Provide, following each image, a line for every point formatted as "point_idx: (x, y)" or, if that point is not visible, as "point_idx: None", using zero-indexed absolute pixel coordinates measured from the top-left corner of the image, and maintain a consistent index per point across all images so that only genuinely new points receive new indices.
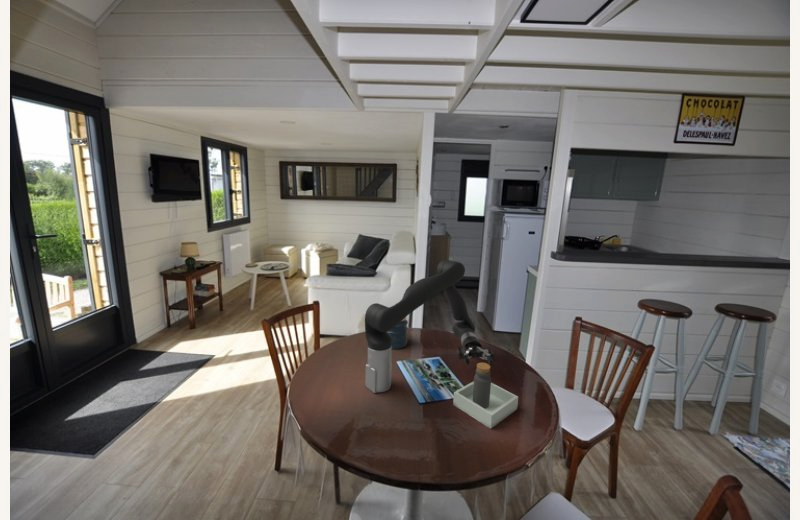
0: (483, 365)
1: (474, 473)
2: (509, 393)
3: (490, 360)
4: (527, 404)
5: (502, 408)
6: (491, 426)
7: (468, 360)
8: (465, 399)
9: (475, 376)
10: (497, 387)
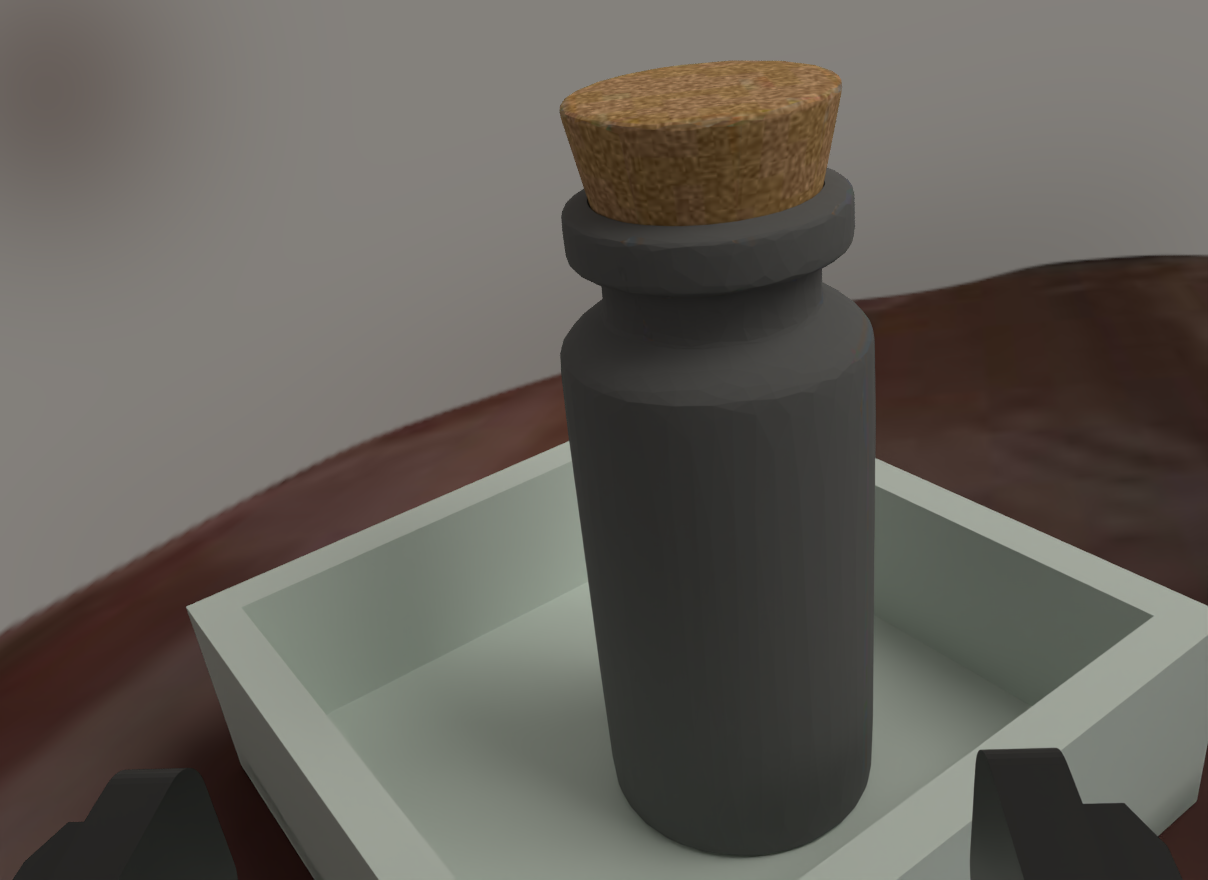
0: (696, 90)
1: (914, 301)
2: (262, 652)
3: (158, 773)
4: (3, 862)
5: (536, 462)
6: None
7: (1019, 752)
8: (1005, 517)
9: (855, 308)
10: (365, 768)
